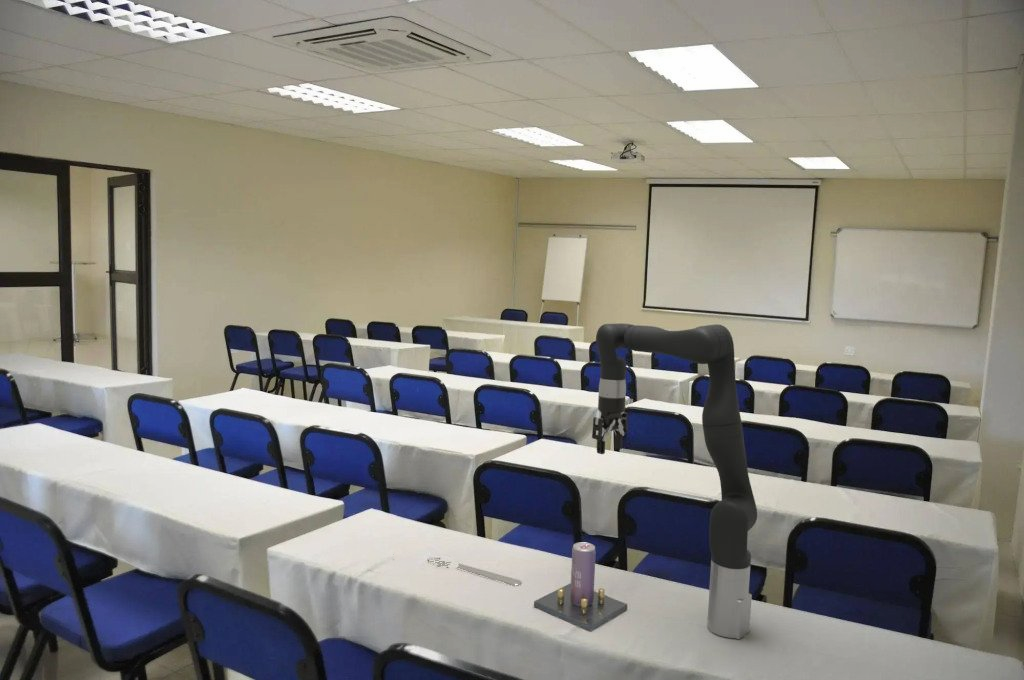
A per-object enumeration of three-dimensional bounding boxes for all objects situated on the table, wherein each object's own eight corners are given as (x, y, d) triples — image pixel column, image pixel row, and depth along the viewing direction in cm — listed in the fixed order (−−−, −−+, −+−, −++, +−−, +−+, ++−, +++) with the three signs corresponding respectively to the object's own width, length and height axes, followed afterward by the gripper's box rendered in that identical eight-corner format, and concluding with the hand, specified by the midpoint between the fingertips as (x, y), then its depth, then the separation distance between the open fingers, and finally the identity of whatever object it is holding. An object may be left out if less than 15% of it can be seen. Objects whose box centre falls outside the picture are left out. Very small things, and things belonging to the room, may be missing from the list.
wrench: (436, 554, 221) (436, 552, 221) (528, 580, 205) (528, 577, 205) (419, 564, 214) (419, 561, 214) (513, 591, 198) (513, 588, 198)
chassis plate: (627, 609, 188) (628, 591, 188) (590, 631, 177) (591, 611, 176) (571, 587, 200) (572, 570, 200) (533, 606, 189) (534, 588, 188)
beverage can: (597, 602, 189) (600, 546, 187) (583, 610, 184) (586, 552, 183) (579, 595, 193) (581, 540, 191) (565, 602, 188) (567, 546, 187)
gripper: (608, 399, 197) (606, 458, 199) (637, 393, 207) (634, 449, 209) (586, 395, 202) (583, 452, 204) (615, 390, 212) (612, 444, 214)
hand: (609, 451), depth 206 cm, fingers open, 8 cm apart
